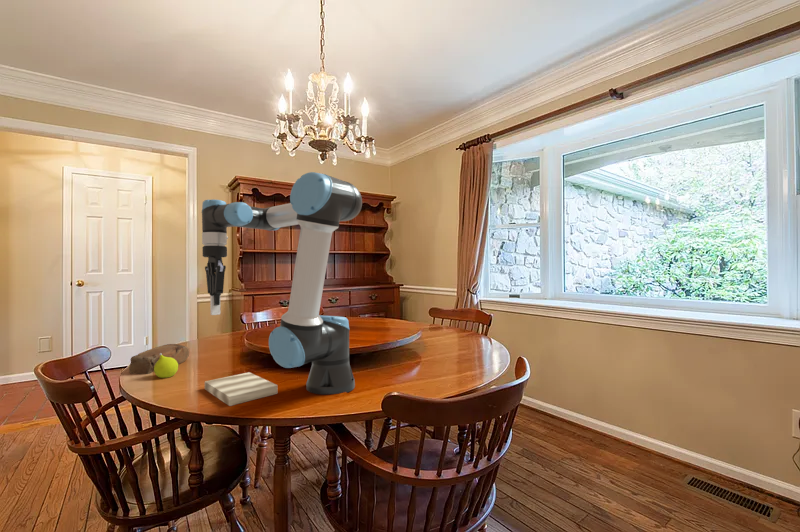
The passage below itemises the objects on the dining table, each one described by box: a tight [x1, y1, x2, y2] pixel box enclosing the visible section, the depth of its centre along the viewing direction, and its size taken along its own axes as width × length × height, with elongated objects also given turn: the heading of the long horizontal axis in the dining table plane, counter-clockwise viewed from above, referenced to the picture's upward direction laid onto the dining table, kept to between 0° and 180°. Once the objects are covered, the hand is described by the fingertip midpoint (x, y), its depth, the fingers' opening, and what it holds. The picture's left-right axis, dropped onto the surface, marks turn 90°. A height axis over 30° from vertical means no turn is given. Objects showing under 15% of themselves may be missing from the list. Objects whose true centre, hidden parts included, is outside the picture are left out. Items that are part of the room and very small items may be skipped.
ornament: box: [153, 350, 179, 379], centre depth 127 cm, size 7×7×10 cm
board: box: [204, 371, 279, 407], centre depth 112 cm, size 20×14×2 cm
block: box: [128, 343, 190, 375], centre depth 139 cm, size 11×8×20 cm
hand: (215, 314), depth 125 cm, fingers closed
